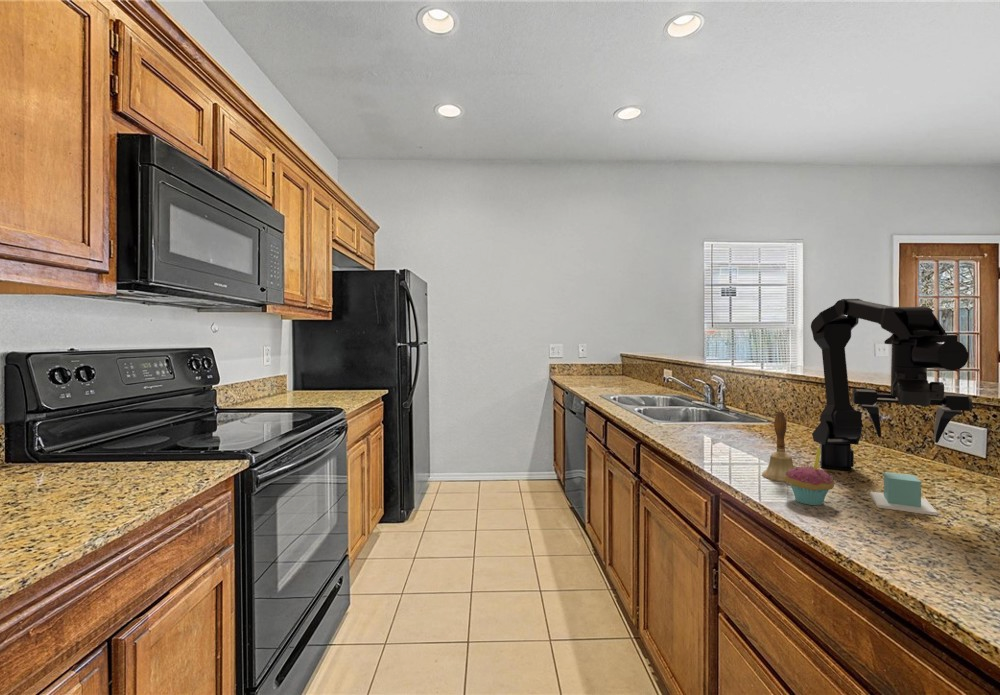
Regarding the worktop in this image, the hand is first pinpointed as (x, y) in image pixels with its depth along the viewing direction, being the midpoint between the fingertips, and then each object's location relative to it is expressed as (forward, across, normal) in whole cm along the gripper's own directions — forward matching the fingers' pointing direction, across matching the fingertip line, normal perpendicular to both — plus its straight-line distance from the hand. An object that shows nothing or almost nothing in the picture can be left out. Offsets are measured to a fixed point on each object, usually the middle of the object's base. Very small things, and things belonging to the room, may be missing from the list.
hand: (907, 439), depth 101 cm
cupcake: (+12, -18, -15) cm, 26 cm away
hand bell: (+12, -23, +2) cm, 26 cm away
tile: (+12, -2, -7) cm, 14 cm away
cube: (+11, -2, -7) cm, 13 cm away
